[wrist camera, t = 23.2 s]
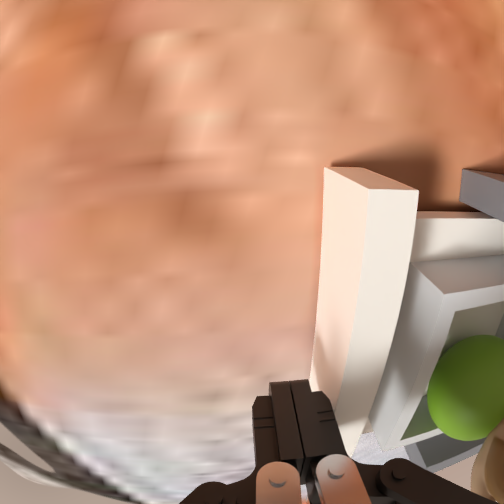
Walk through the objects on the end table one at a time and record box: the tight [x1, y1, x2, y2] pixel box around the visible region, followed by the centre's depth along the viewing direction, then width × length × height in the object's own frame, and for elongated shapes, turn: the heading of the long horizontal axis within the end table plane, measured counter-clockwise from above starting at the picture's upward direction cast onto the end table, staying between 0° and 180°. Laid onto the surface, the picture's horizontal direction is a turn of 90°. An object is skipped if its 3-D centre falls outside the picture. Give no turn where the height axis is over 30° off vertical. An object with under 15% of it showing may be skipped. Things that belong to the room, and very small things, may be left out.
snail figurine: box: [427, 335, 504, 504], centre depth 8 cm, size 5×6×12 cm
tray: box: [309, 167, 504, 458], centre depth 12 cm, size 17×17×4 cm
